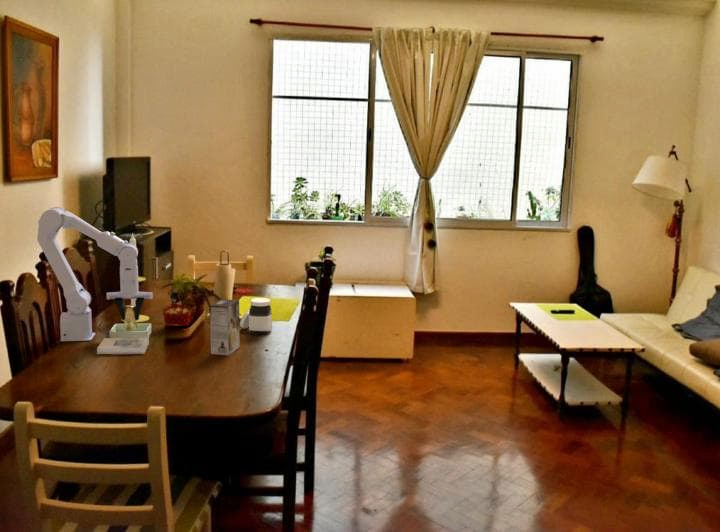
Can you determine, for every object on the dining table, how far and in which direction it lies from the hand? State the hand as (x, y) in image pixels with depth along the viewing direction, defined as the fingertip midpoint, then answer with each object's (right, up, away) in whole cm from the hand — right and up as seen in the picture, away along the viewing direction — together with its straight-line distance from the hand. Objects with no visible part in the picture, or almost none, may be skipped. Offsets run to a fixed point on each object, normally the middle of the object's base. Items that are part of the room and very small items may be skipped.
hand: (130, 319), depth 227 cm
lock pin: (0, -3, +1) cm, 4 cm away
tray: (0, -6, +1) cm, 6 cm away
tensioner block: (+2, -8, -12) cm, 15 cm away
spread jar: (+41, -5, +12) cm, 43 cm away
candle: (-6, -2, +22) cm, 23 cm away
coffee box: (+34, -9, -11) cm, 37 cm away
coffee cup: (+13, -4, +16) cm, 21 cm away
